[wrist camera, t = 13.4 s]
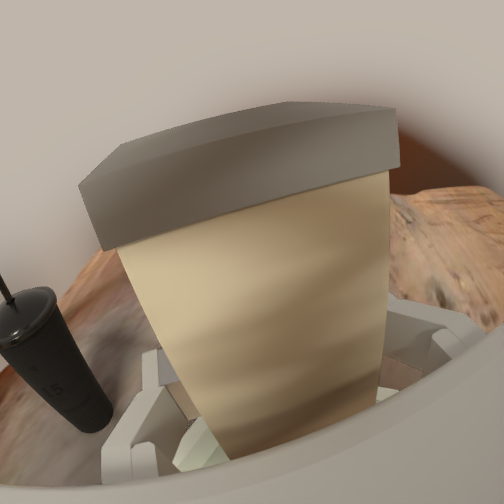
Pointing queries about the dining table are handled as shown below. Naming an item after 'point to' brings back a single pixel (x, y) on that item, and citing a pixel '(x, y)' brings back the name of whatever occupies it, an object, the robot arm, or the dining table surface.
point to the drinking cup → (50, 357)
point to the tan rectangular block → (260, 260)
